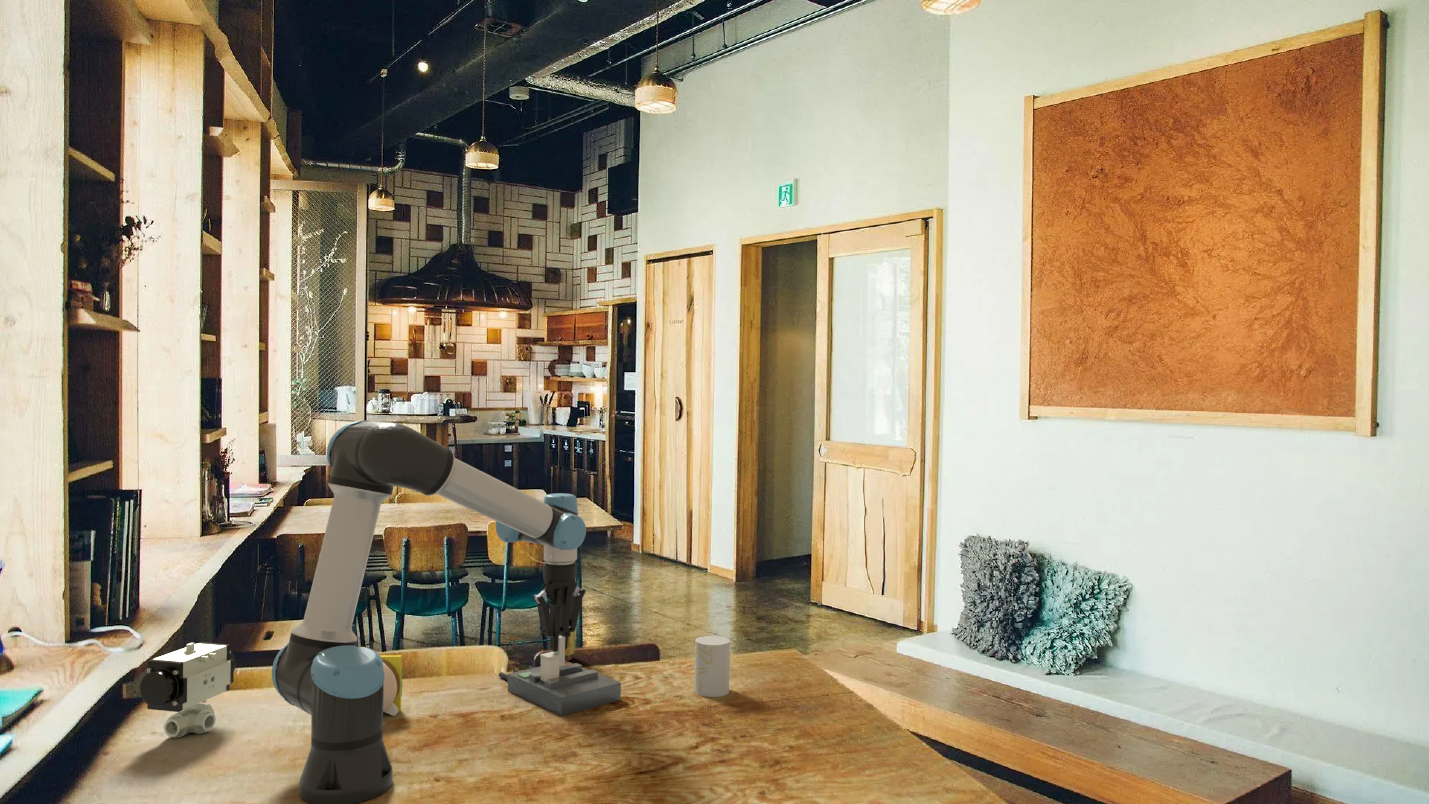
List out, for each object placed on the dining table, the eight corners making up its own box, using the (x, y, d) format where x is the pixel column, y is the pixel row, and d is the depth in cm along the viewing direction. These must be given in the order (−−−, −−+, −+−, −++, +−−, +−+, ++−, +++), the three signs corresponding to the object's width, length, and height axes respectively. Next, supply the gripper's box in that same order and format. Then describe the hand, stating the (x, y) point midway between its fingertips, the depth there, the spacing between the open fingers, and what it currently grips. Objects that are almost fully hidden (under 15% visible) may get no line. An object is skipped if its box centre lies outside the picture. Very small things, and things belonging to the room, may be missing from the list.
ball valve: (175, 750, 175) (176, 658, 174) (137, 746, 176) (138, 654, 176) (242, 718, 192) (243, 634, 192) (207, 714, 194) (208, 631, 194)
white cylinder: (689, 688, 217) (689, 637, 216) (720, 684, 220) (720, 634, 220) (703, 698, 209) (704, 646, 209) (734, 694, 213) (735, 643, 213)
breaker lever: (559, 680, 207) (560, 654, 207) (547, 683, 205) (548, 657, 205) (551, 677, 209) (552, 651, 209) (539, 679, 207) (540, 654, 207)
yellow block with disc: (334, 721, 192) (335, 664, 191) (347, 707, 200) (348, 652, 200) (393, 720, 192) (394, 663, 192) (403, 706, 201) (404, 652, 201)
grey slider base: (620, 700, 207) (620, 677, 207) (561, 716, 196) (561, 692, 196) (542, 667, 231) (543, 647, 231) (486, 680, 220) (486, 659, 220)
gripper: (574, 556, 216) (572, 655, 216) (526, 562, 207) (525, 666, 207) (593, 560, 210) (591, 662, 211) (544, 567, 201) (543, 674, 202)
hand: (558, 664), depth 209 cm, fingers closed
